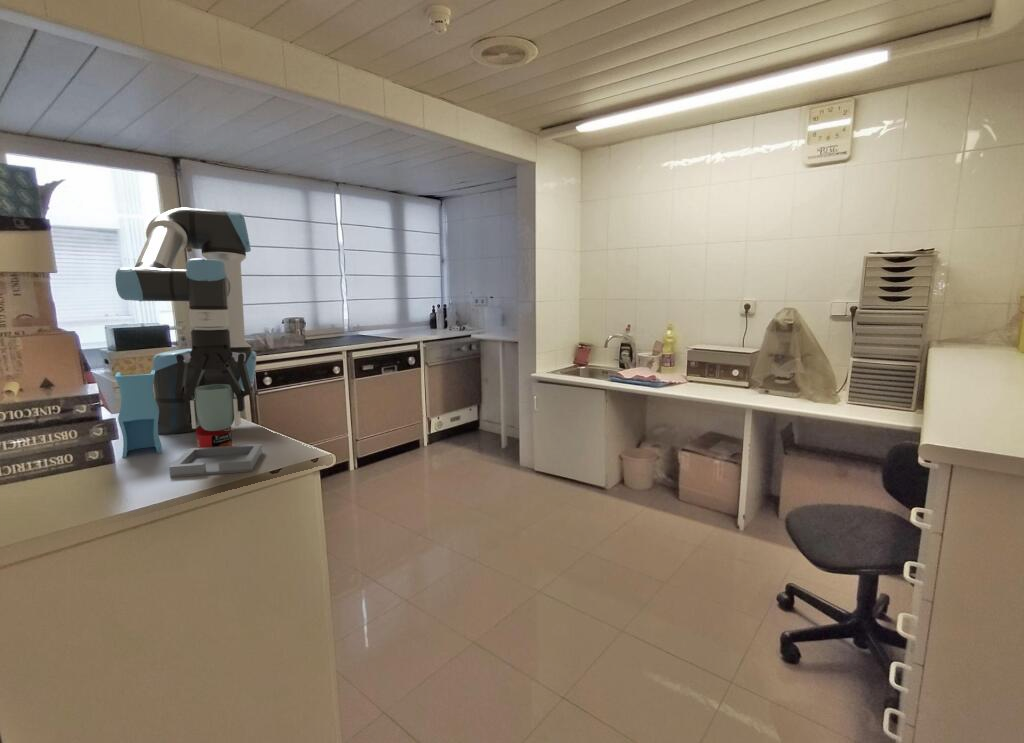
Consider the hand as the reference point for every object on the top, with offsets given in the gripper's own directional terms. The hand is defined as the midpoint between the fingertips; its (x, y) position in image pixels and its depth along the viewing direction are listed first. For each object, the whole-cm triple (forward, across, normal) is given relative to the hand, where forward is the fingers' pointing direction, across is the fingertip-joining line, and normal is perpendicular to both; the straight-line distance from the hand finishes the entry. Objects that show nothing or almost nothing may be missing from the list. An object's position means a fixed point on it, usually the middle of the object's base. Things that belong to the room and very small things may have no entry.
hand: (217, 425), depth 116 cm
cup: (+1, 0, 0) cm, 1 cm away
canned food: (+10, -4, +13) cm, 17 cm away
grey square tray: (+9, 0, 0) cm, 9 cm away
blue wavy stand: (+10, -21, +16) cm, 28 cm away
